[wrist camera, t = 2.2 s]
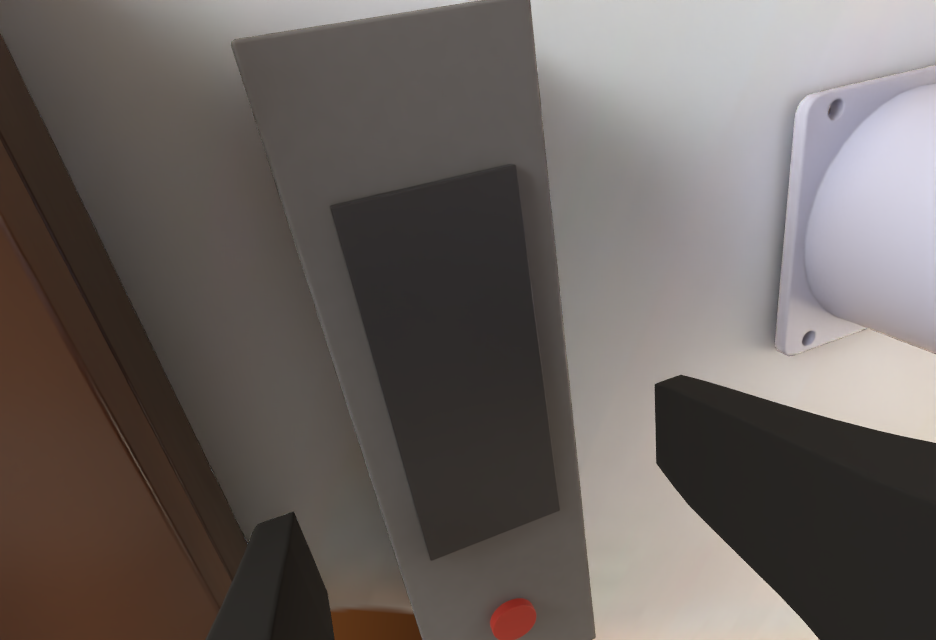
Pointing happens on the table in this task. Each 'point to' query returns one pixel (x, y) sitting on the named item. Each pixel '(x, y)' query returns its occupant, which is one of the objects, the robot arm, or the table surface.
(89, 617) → the wooden tray
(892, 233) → the robot arm
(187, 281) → the table surface
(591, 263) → the table surface
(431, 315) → the remote
